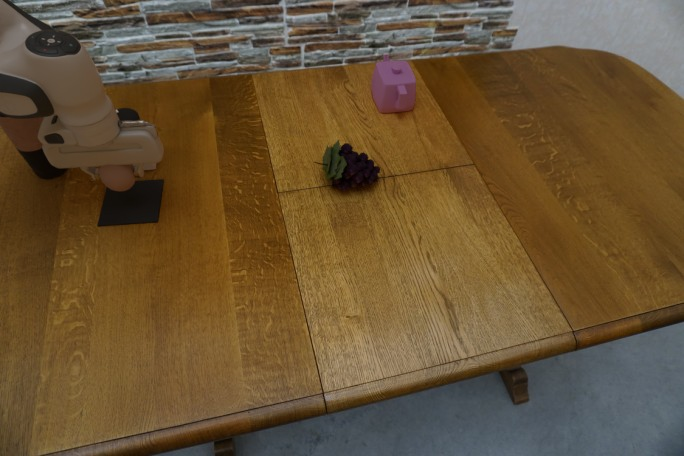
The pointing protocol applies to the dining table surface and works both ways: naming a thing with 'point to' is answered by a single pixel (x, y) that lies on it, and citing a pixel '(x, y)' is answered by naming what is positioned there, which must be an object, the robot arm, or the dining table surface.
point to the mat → (132, 204)
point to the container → (132, 115)
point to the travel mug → (30, 145)
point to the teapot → (393, 86)
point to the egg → (117, 176)
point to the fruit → (348, 167)
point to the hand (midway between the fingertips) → (119, 176)
